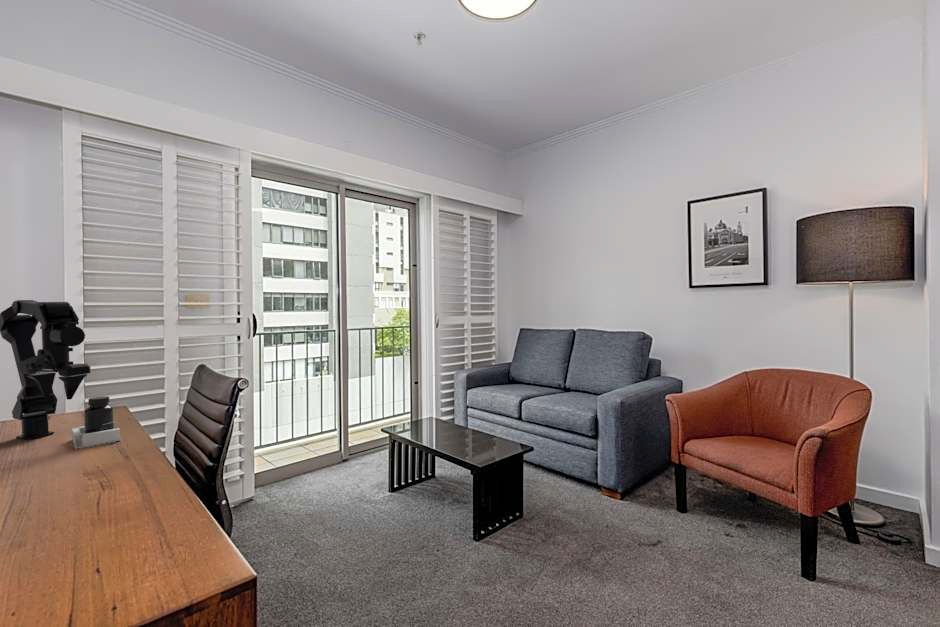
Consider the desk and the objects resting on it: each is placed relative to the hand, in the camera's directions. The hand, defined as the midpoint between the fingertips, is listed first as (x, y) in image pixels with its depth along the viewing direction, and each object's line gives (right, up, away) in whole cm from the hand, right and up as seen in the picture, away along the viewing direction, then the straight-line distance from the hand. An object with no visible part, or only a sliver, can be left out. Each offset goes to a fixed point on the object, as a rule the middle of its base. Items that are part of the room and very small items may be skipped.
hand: (57, 398), depth 133 cm
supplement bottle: (+10, -12, +3) cm, 16 cm away
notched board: (+10, -13, +3) cm, 17 cm away
